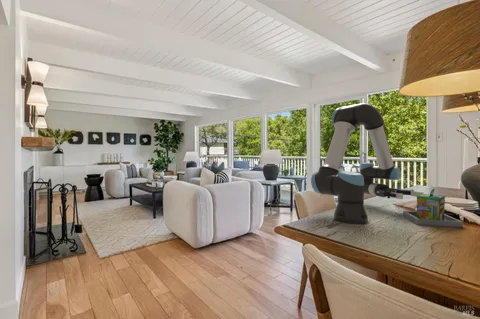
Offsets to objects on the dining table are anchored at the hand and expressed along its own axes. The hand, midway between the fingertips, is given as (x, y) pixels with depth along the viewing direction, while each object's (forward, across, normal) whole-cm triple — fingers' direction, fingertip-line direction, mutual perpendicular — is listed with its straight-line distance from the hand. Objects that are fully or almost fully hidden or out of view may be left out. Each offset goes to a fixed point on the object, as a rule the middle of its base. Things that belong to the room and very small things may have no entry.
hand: (413, 196), depth 126 cm
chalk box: (+9, 0, -10) cm, 13 cm away
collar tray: (+9, 0, -10) cm, 14 cm away
